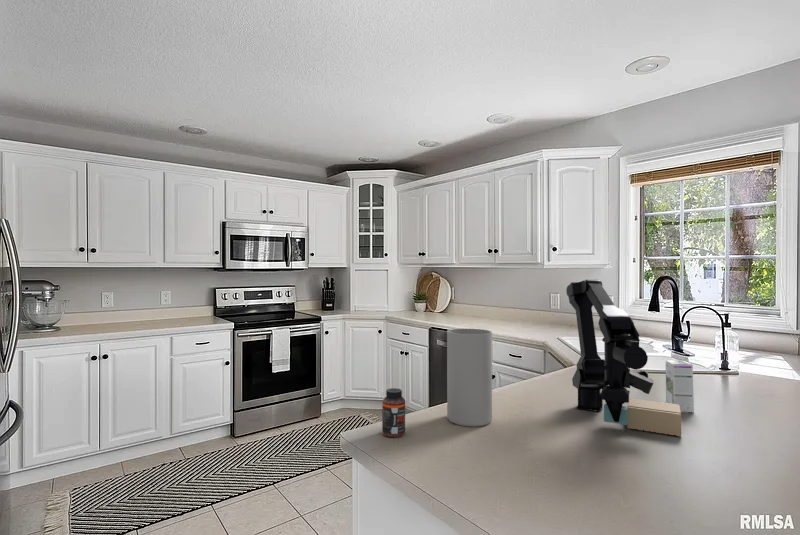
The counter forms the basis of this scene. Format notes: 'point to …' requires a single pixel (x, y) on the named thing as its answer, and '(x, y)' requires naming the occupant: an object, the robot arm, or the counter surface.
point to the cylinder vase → (469, 377)
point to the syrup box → (680, 384)
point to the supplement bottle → (393, 413)
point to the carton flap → (647, 420)
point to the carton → (654, 405)
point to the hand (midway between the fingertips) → (616, 419)
